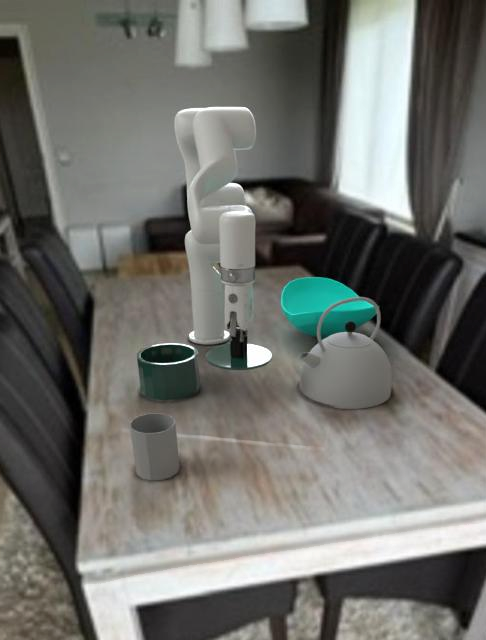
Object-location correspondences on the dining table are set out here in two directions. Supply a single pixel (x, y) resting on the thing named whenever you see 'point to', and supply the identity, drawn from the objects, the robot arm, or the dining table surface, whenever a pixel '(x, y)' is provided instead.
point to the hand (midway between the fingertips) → (239, 354)
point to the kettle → (347, 367)
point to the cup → (155, 446)
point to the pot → (168, 371)
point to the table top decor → (322, 306)
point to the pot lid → (251, 359)
